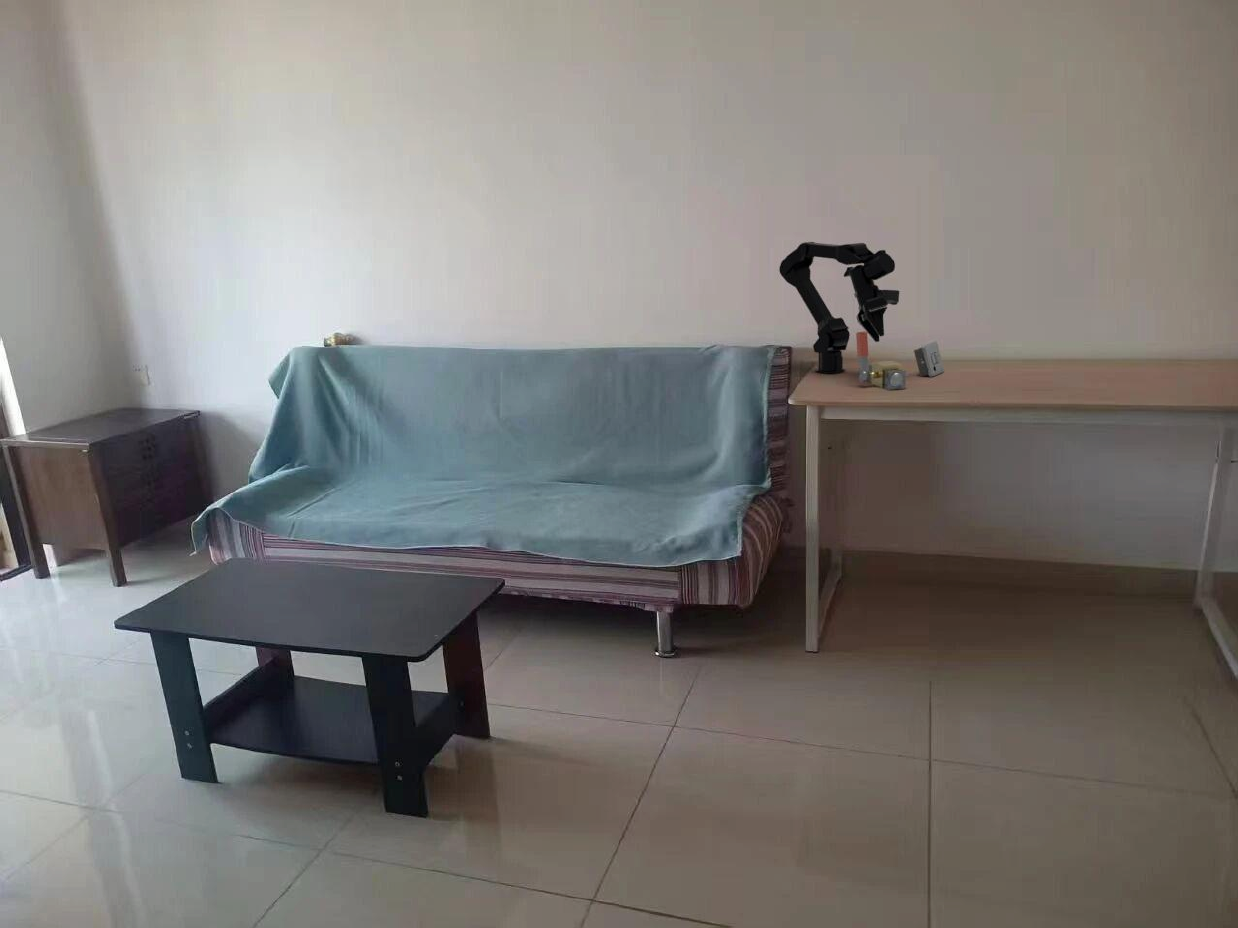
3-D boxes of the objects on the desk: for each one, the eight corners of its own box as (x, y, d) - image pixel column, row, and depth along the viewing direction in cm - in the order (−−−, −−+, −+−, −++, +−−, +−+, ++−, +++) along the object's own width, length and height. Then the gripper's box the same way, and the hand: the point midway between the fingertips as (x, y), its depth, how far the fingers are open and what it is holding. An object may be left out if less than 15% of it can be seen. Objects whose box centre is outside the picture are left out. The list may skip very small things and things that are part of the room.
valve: (857, 381, 270) (858, 360, 268) (884, 379, 271) (885, 358, 269) (879, 391, 255) (880, 369, 254) (908, 388, 256) (908, 366, 255)
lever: (858, 381, 263) (855, 332, 262) (865, 381, 263) (863, 332, 262) (862, 381, 260) (859, 331, 259) (870, 381, 260) (867, 331, 259)
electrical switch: (932, 378, 269) (930, 345, 267) (914, 378, 273) (912, 346, 271) (944, 372, 276) (942, 340, 274) (927, 373, 280) (925, 341, 278)
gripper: (897, 269, 259) (914, 324, 258) (887, 285, 278) (902, 336, 277) (857, 281, 261) (873, 336, 259) (849, 296, 279) (864, 347, 278)
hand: (879, 339), depth 268 cm, fingers open, 9 cm apart
